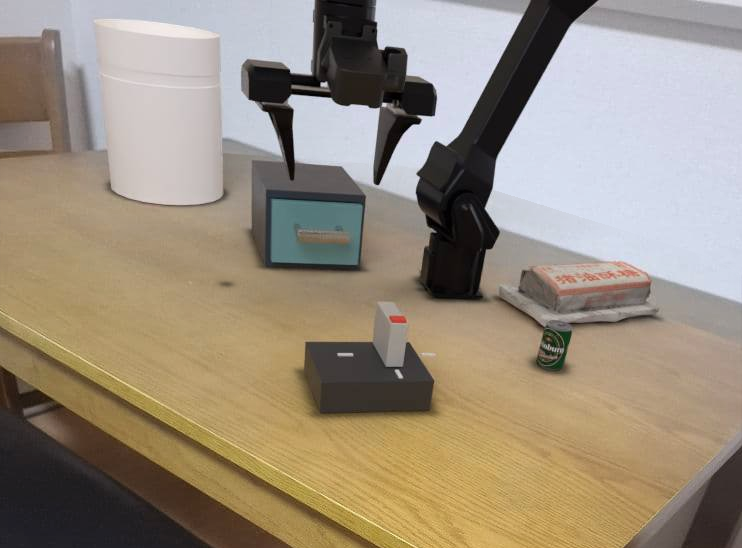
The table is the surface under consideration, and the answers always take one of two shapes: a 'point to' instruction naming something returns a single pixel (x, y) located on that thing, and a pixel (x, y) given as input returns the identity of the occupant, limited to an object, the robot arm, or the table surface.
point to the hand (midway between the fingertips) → (334, 182)
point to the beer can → (554, 345)
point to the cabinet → (306, 186)
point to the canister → (161, 110)
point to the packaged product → (581, 292)
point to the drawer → (315, 231)
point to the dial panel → (365, 379)
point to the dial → (390, 334)
